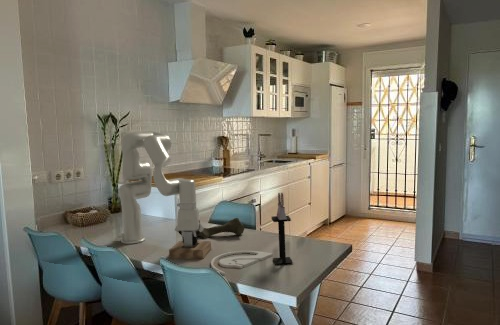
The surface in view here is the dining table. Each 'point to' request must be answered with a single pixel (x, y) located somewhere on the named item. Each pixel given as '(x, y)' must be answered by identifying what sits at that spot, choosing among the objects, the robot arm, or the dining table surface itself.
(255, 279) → the dining table surface
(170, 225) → the dining table surface
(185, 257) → the well block
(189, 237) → the grey rectangular prism
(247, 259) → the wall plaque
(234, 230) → the bone
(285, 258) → the black pedestal stand
